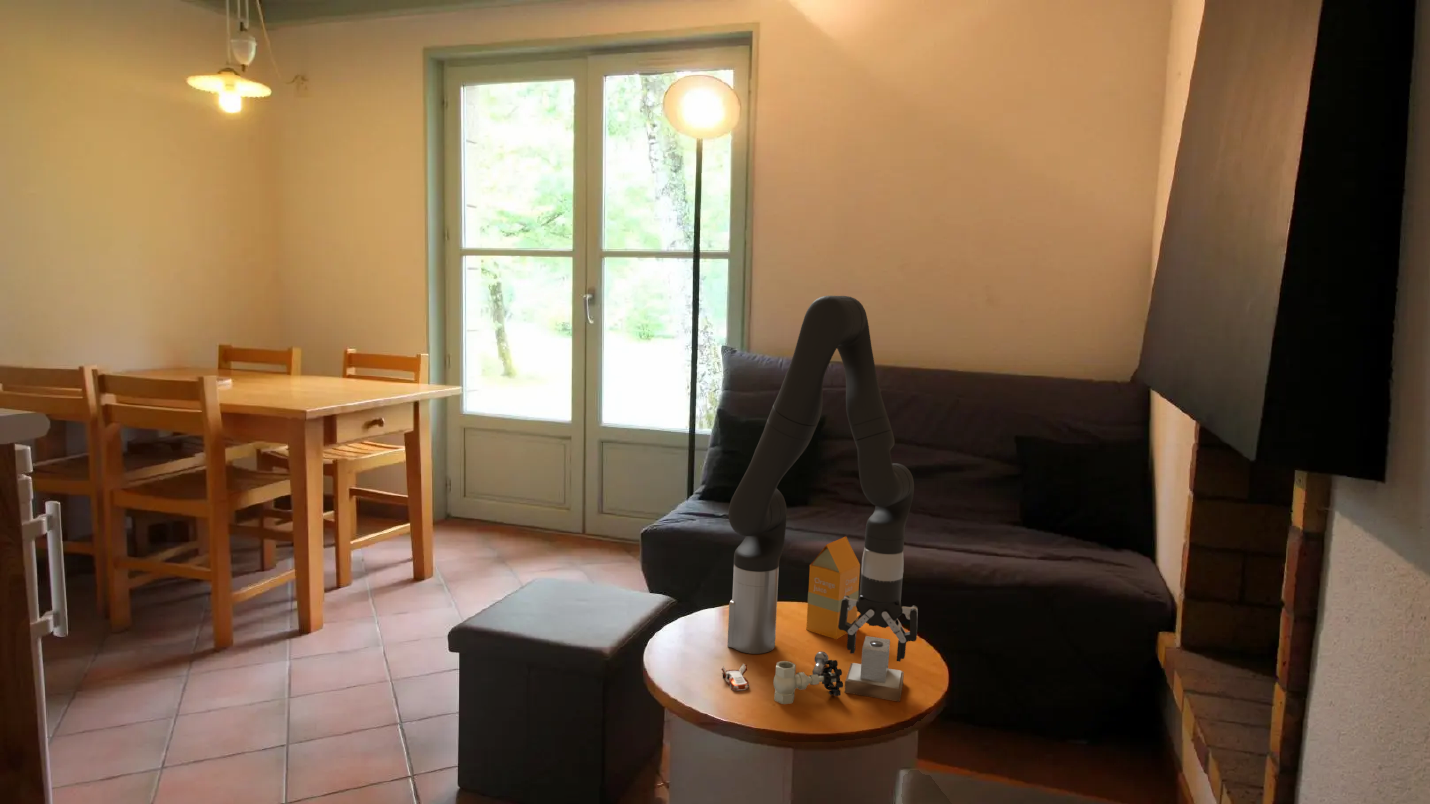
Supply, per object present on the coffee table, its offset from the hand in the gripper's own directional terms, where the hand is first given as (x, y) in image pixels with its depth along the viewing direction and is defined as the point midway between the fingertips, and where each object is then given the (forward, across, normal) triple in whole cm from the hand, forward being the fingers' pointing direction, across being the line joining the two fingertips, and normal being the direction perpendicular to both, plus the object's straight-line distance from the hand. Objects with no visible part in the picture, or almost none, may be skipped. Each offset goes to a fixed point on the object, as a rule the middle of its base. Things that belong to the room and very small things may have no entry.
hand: (875, 655), depth 158 cm
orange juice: (+6, -12, +25) cm, 28 cm away
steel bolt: (+6, -11, +3) cm, 13 cm away
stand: (+6, 0, 0) cm, 6 cm away
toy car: (+7, -25, -7) cm, 27 cm away
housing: (+4, 0, 0) cm, 4 cm away
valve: (+6, -11, -9) cm, 16 cm away
